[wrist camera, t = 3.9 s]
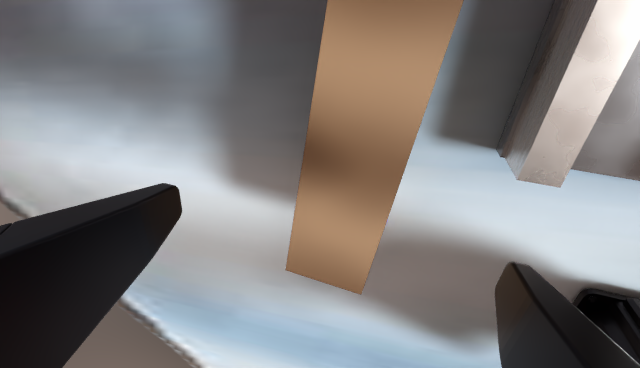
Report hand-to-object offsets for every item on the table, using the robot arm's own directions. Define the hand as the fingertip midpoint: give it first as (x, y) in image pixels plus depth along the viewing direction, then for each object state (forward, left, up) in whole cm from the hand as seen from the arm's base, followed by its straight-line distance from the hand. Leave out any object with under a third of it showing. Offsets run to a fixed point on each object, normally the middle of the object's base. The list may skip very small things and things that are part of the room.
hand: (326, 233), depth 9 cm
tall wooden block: (0, 0, -12) cm, 12 cm away
